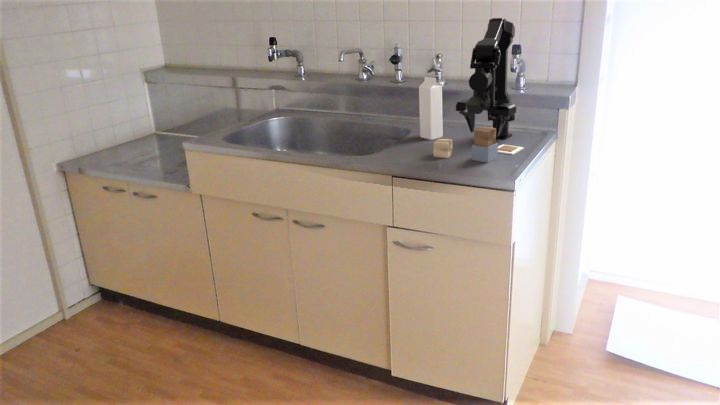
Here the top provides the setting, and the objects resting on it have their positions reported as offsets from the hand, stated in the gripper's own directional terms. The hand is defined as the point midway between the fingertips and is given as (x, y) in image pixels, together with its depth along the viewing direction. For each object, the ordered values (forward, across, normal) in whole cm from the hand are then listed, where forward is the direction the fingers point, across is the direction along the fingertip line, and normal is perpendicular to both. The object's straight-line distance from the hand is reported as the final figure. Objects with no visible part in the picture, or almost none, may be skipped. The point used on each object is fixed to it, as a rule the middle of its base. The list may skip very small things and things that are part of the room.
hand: (484, 134), depth 192 cm
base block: (+8, 0, 0) cm, 8 cm away
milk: (+8, -30, +14) cm, 34 cm away
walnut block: (+3, 0, 0) cm, 3 cm away
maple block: (+8, -14, -3) cm, 17 cm away
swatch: (+8, +2, +12) cm, 15 cm away
